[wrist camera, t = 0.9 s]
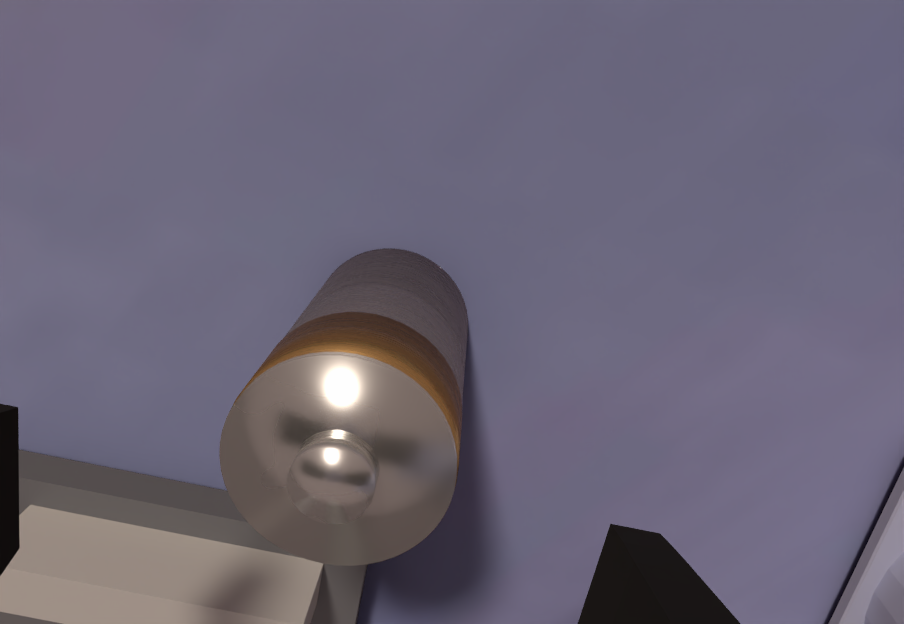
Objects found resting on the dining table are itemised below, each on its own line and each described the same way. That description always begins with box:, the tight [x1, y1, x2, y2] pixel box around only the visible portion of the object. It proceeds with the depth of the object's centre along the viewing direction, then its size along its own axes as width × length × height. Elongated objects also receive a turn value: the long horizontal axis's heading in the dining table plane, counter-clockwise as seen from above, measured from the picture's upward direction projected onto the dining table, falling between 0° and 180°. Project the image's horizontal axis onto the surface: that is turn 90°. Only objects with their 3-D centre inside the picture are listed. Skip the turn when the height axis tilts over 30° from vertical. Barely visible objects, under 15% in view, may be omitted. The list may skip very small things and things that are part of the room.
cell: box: [220, 249, 468, 566], centre depth 13 cm, size 3×3×6 cm
